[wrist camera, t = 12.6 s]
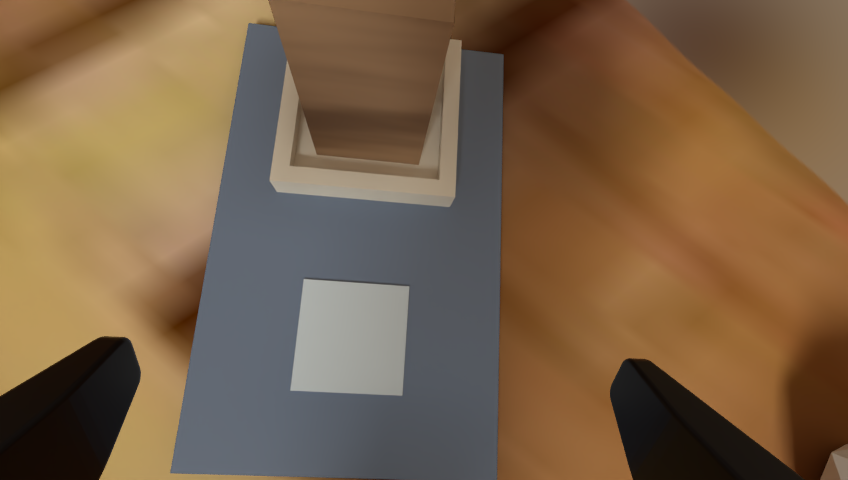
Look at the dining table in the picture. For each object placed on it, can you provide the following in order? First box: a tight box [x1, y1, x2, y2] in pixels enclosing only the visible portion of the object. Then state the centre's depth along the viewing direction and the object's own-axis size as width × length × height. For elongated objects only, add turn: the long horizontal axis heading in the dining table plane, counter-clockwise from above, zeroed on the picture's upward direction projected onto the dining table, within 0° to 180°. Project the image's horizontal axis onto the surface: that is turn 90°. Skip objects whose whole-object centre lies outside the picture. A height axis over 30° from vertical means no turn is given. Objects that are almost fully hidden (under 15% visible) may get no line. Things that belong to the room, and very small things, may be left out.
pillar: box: [269, 0, 455, 165], centre depth 17 cm, size 5×5×10 cm
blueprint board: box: [170, 23, 504, 480], centre depth 21 cm, size 22×14×2 cm, turn 177°
